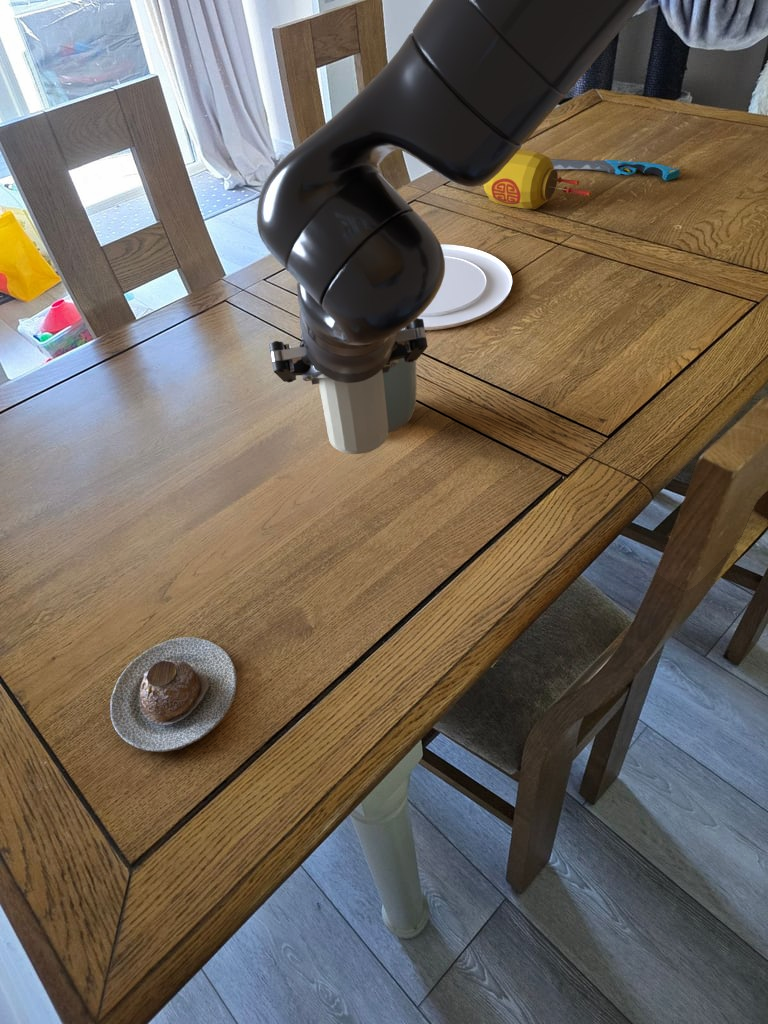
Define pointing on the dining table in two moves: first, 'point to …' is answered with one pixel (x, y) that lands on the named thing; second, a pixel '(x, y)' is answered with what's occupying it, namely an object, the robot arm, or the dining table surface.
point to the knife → (618, 167)
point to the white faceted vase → (355, 413)
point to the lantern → (527, 181)
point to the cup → (400, 393)
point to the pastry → (173, 694)
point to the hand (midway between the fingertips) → (348, 368)
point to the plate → (467, 288)
